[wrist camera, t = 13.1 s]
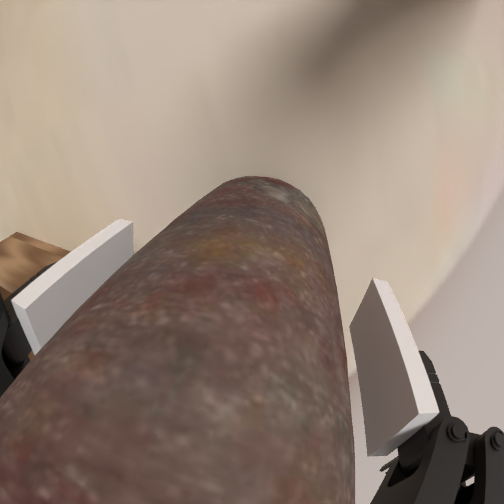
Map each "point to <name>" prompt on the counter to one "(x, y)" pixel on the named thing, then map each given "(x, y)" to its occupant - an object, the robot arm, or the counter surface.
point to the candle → (195, 370)
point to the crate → (24, 262)
